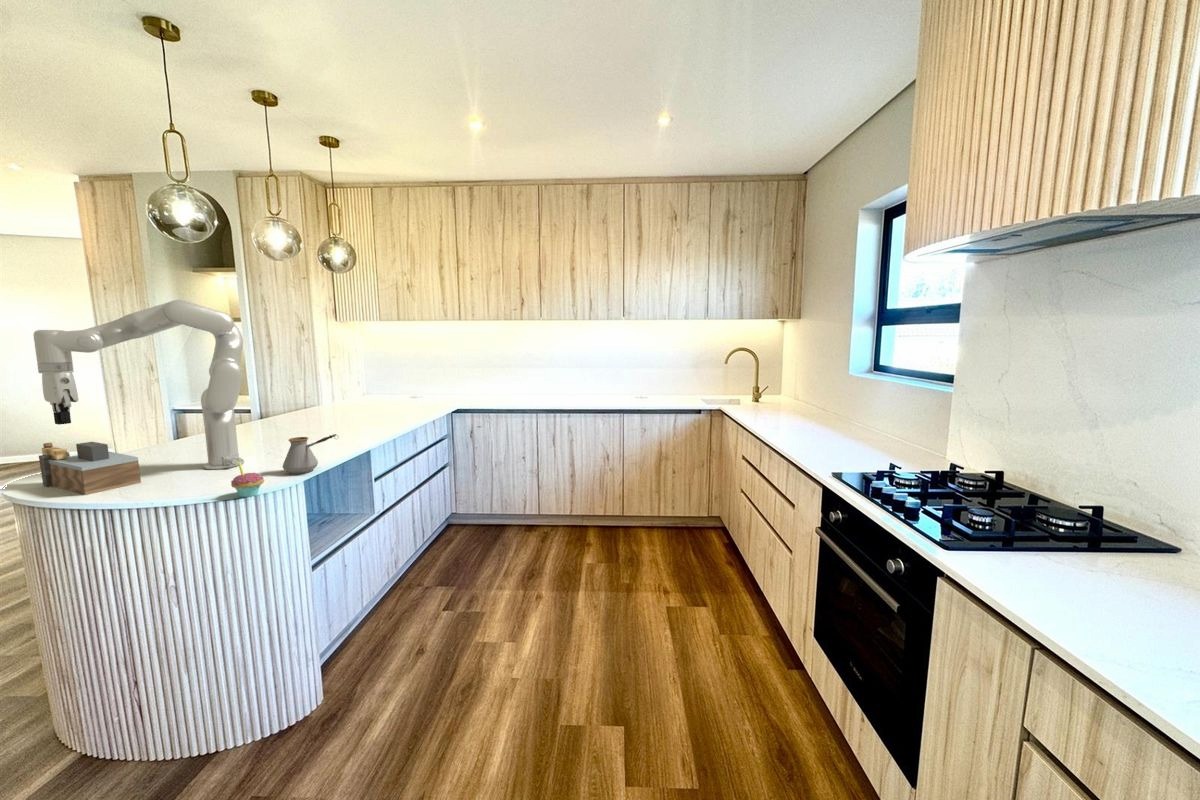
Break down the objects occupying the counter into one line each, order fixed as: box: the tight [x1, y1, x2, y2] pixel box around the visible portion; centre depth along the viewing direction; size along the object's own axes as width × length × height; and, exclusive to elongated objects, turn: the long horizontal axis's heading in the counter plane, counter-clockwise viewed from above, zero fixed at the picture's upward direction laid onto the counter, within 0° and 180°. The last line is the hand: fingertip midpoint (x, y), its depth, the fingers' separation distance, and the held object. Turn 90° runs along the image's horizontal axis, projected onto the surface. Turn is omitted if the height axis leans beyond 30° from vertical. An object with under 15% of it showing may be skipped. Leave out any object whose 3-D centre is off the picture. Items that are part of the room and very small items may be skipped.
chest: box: [38, 451, 142, 496], centre depth 161 cm, size 25×15×11 cm, turn 68°
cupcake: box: [230, 461, 265, 498], centre depth 152 cm, size 9×8×12 cm
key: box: [41, 442, 68, 460], centre depth 160 cm, size 10×2×4 cm, turn 68°
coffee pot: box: [282, 433, 339, 475], centre depth 177 cm, size 21×12×15 cm, turn 85°
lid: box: [48, 441, 139, 471], centre depth 160 cm, size 22×14×7 cm, turn 68°
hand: (63, 423), depth 154 cm, fingers closed
